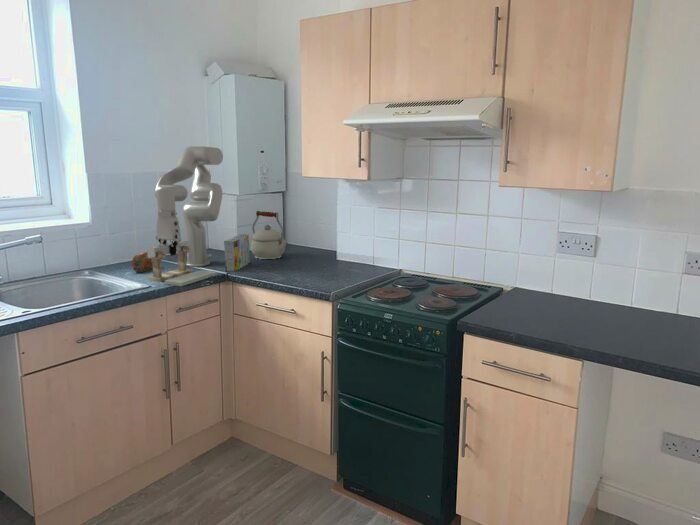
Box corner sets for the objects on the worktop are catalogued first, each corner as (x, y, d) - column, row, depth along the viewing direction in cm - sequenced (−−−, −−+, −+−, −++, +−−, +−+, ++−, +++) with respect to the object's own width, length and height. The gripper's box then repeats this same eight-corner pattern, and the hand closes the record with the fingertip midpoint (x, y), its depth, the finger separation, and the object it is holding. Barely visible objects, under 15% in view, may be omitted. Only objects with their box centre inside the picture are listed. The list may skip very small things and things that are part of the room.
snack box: (240, 262, 281) (239, 234, 278) (250, 263, 280) (249, 234, 277) (224, 271, 260) (223, 240, 257) (235, 272, 259) (234, 240, 256)
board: (201, 273, 256) (201, 270, 256) (217, 275, 252) (217, 271, 252) (165, 284, 234) (165, 280, 234) (181, 286, 231) (181, 282, 231)
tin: (137, 273, 254) (136, 256, 252) (131, 273, 254) (130, 255, 253) (155, 267, 268) (154, 250, 267) (149, 267, 269) (148, 250, 267)
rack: (179, 271, 259) (178, 244, 256) (191, 273, 256) (189, 245, 253) (148, 280, 241) (146, 251, 238) (160, 281, 238) (158, 252, 235)
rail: (182, 248, 257) (181, 240, 256) (189, 249, 255) (188, 240, 255) (147, 256, 237) (147, 247, 237) (154, 257, 236) (154, 248, 235)
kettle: (241, 257, 294) (240, 211, 289) (265, 252, 309) (264, 209, 304) (276, 263, 280) (275, 215, 275) (299, 257, 295) (298, 212, 290)
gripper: (187, 214, 243) (189, 254, 247) (158, 212, 249) (161, 251, 253) (175, 216, 236) (178, 257, 240) (146, 214, 243) (149, 254, 247)
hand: (169, 254), depth 246 cm, fingers closed on rail, 4 cm apart
